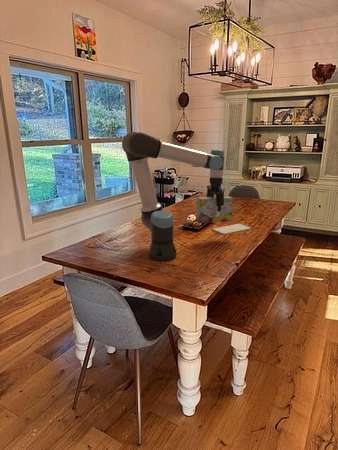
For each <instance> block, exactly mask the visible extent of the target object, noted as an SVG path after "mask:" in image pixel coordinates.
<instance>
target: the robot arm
mask: <svg viewBox="0 0 338 450" xmlns="http://www.w3.org/2000/svg"><path fill="white" fill-rule="evenodd" d="M121 141H122V142H121V147H122V150H123V152H124V154H125V155H126V160H127V162H128V163H130V164H131V166H132V171H133V174H134V178H135V179H134V180H135V183H136V185H137V189H138V193H139V197H140V203H141V205H142V206H141V208H140V212H141V216H140V219H141V222H142V225H144V227H146V228H147V229H148V230H149V231H150V234H151V237H150V238H151V241H150V245H149V249H148V253H147V255H148V257H149V258H150V259H151V260H154V261H159V262H167V261H170V260H171V261H172V260H174V259H175V258H176V257H177V254H178V253H177V250H176V247H175V242H174V215H173V213H171V212H170V211H166V210H163V207H162V204H161V203H160V202H158V198H157V194H156V191H155V186H154V181H153V178H152V172H151V169H150V165H149V158H150V159H158V158H161V159H165V160H169V161H174V162H178V163H182V164H187V165H191V167H192V168H204V169H208V170H209V185H207V186H206V189H207V190H206V197H216V200H217V205H216V217H219V216H220V211H221V206H222V205H224V196H225V188H223V187H222V185H223V179H224V178H223V177H224V165H225V151H224V150H223V149H211V151H210V152H209V153H206V152H203V151H200V150H196V149H191V148H187V147H184V146H179V145H178V144H177V145H176V144H171V143H168V142H164V141H162V140H161V138H157V137H155V136H151V135H149V134H147V133H144V132H138V131H132V132H129V133H127V134H126V135H125V136H124V137H123V138H122V140H121Z"/></svg>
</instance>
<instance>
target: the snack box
mask: <svg viewBox="0 0 338 450" xmlns="http://www.w3.org/2000/svg"><path fill="white" fill-rule="evenodd" d="M233 201H234V197H232V196H229V195H227V196H225V195H224V205H222V206H221V211H220V216H219V217H216V205H217V200H216V196H214V197H207V196H201V197H199V196H197V197H196V209H195V210H196V211H195V213H196V214H195V222H197V223H198V224H211V223H212V224H213V223H229V222H230V223H231V222H232V214H233V213H232V212H233V203H234V202H233Z"/></svg>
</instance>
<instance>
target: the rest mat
mask: <svg viewBox="0 0 338 450" xmlns="http://www.w3.org/2000/svg"><path fill="white" fill-rule="evenodd" d="M251 229H253V227H252V226H249V225H247V224H244V223H241V222H239V223H236V224H235V223H234V224H231V225H225V226H220V227H215V228H210V230H211V231H212V232H215V233H217V234H220V235H222V236H225V235H227V234H233V233H238V232H242V231H243V232H244V231H246V230H247V231H248V230H251Z"/></svg>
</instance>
